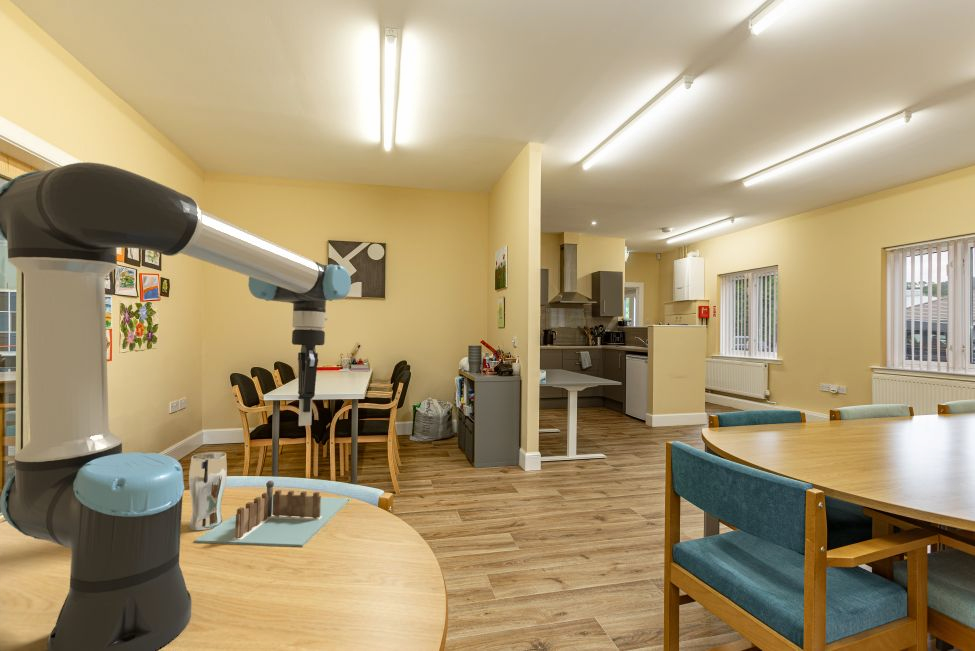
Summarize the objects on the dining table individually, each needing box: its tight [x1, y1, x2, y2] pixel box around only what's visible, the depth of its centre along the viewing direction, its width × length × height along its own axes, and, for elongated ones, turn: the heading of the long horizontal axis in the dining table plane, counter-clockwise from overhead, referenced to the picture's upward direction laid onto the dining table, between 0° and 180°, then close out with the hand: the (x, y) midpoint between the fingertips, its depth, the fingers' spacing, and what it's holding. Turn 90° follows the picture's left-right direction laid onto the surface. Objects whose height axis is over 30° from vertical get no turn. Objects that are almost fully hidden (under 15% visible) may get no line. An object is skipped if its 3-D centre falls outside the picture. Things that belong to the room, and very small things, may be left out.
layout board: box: [193, 497, 350, 548], centre depth 100 cm, size 26×22×1 cm
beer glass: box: [188, 451, 228, 532], centre depth 96 cm, size 7×7×15 cm
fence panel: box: [272, 489, 322, 518], centre depth 100 cm, size 11×1×5 cm, turn 85°
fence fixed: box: [235, 480, 275, 538], centre depth 95 cm, size 13×2×8 cm, turn 177°
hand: (304, 424), depth 108 cm, fingers closed
